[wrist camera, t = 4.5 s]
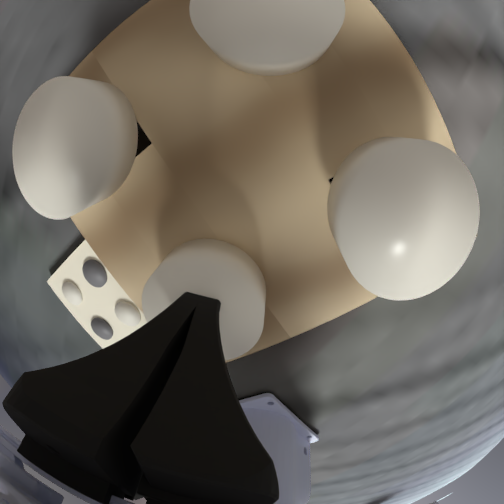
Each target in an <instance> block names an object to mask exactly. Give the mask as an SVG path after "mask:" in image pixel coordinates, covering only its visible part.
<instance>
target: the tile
mask: <svg viewBox="0 0 504 504" xmlns="http://www.w3.org/2000/svg"><path fill="white" fill-rule="evenodd" d="M47 282H48V284H49V285H50V287H51V288H52V289H53V291H54V292H55V293H56V295H57V296H58V297H59V299H60V300H61V301H62V302H63V304H64V305H65V306H66V307H67V309H68V310H69V311H70V312H71V314H72V315H73V316H74V317H75V318H76V320H77V321H78V322H79V323H80V324H81V325H82V327H83V328H84V329H85V330H86V331H87V332H88V333H89V334H90V335H91V337H92V338H93V339H94V340H95V341H96V342H97V343H98V344H99V345H100V346H101V347H102V348H103V349H104V348H106V347H108V346H110V345H112V344H114V343H116V342H117V341H119V340H121V339H123V338H125V337H126V336H128V335H129V334H131V333H133V332H134V331H136V330H137V329H139V328H140V327H142V326H143V325H145V324H146V323H147V321H146V319H145V316H144V314H143V312H142V311H141V310H140V309H139V308H138V307H137V305H136V304H135V303H134V302H133V301H132V300H131V298H130V297H129V296H128V295H127V294H126V292H125V291H124V290H123V289H122V287H121V286H120V285H119V284H118V282H117V281H116V280H115V279H114V277H113V276H112V275H111V274H110V272H109V271H108V270H107V268H106V267H105V266H104V264H103V263H102V262H101V260H100V259H99V258H98V256H97V255H96V254H95V252H94V251H93V249H92V248H91V247H90V245H89V244H88V242H87V241H86V240H84V241H83V242H82V243H81V244H80V245H79V246H78V248H77V249H76V250H75V251H74V252H73V253H72V254H71V255H70V256H69V257H68V258H67V259H66V260H65V262H64V263H63V264H62V265H61V266H60V267H59V268H58V269H57V270H56V272H55V273H54V274H53V275H52V276H51V277H50V279H49V280H48V281H47Z"/></svg>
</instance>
